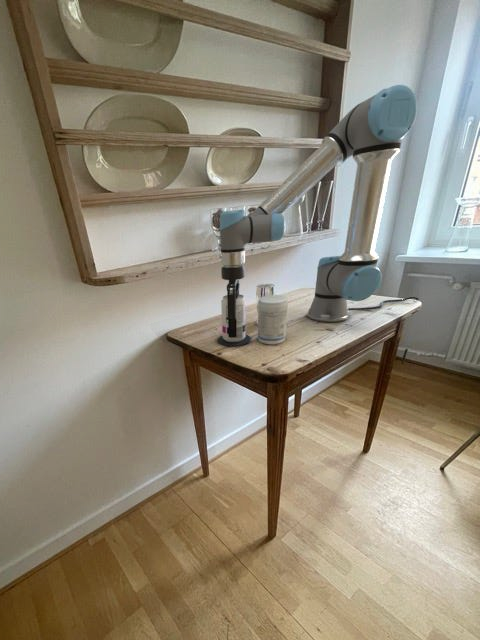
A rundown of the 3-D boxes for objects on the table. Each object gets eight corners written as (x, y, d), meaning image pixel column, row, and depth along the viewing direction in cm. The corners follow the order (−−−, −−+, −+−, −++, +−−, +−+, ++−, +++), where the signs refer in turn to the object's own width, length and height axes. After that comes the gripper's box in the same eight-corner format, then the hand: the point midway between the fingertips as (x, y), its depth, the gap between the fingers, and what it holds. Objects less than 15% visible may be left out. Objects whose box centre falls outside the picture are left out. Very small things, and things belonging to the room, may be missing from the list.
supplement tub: (259, 334, 111) (260, 294, 104) (285, 335, 108) (288, 294, 101) (255, 344, 103) (256, 302, 96) (284, 346, 100) (287, 302, 93)
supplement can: (217, 339, 109) (216, 298, 101) (232, 332, 113) (231, 292, 106) (235, 344, 103) (235, 301, 96) (249, 337, 108) (250, 295, 101)
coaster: (239, 331, 115) (240, 330, 115) (257, 341, 106) (257, 340, 105) (212, 338, 112) (212, 337, 112) (227, 349, 102) (227, 348, 102)
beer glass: (259, 320, 125) (260, 283, 118) (275, 321, 122) (277, 284, 114) (252, 325, 121) (253, 287, 113) (268, 327, 117) (270, 288, 109)
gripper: (225, 261, 106) (226, 323, 117) (216, 272, 88) (219, 343, 99) (246, 259, 104) (246, 322, 115) (242, 270, 86) (242, 343, 98)
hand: (233, 332), depth 107 cm, fingers closed on supplement can, 8 cm apart
